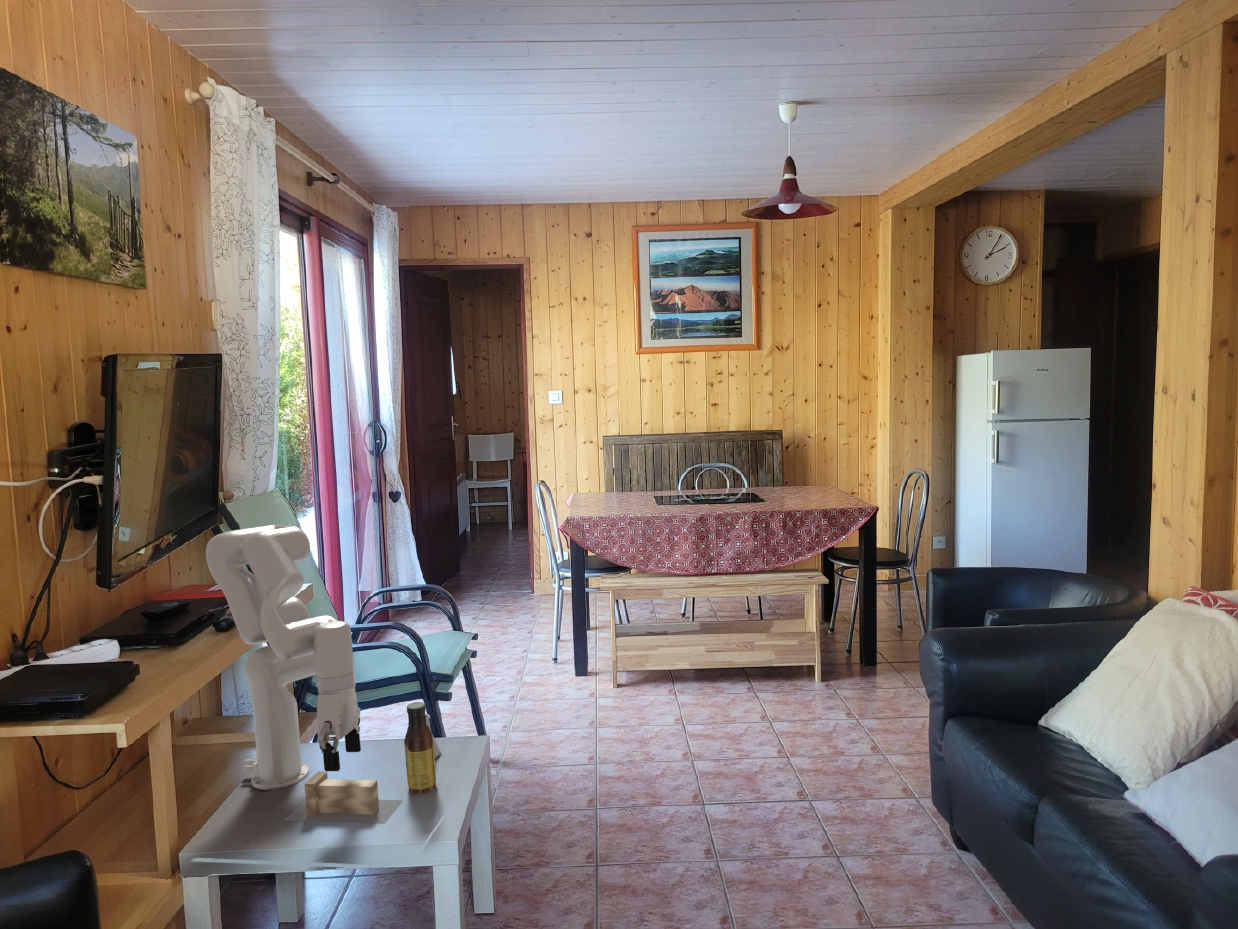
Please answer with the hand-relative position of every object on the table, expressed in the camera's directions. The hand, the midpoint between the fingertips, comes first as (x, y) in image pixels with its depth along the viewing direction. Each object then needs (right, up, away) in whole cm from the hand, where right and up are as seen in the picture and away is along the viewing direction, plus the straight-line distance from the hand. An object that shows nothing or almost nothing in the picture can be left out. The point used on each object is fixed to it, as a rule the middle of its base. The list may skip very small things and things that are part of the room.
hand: (343, 761), depth 184 cm
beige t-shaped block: (0, -11, +1) cm, 11 cm away
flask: (+11, -9, +29) cm, 32 cm away
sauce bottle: (+14, -10, +10) cm, 20 cm away
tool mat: (0, -12, +1) cm, 12 cm away
